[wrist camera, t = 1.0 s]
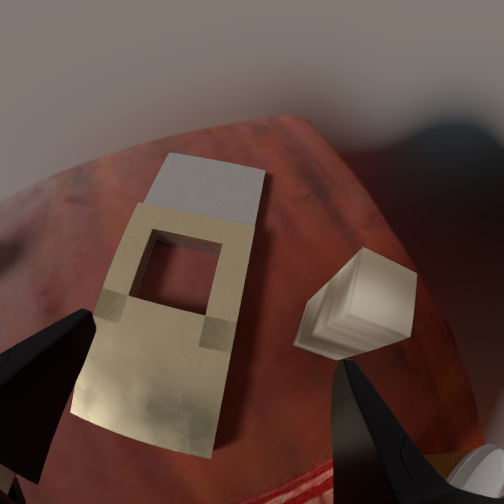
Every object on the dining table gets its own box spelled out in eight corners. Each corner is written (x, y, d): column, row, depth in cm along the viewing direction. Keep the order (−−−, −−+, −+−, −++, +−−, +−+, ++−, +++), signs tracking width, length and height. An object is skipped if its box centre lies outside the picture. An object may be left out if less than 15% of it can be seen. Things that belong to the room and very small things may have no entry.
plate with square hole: (210, 451, 18) (211, 458, 16) (82, 411, 17) (70, 412, 15) (263, 177, 33) (267, 163, 30) (170, 159, 32) (168, 145, 30)
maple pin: (336, 360, 24) (410, 336, 14) (293, 345, 24) (349, 313, 14) (348, 317, 26) (417, 273, 16) (307, 301, 26) (362, 247, 16)
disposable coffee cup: (438, 473, 17) (513, 479, 7) (379, 526, 14) (449, 558, 4) (415, 424, 21) (502, 420, 10) (350, 481, 17) (430, 516, 7)
